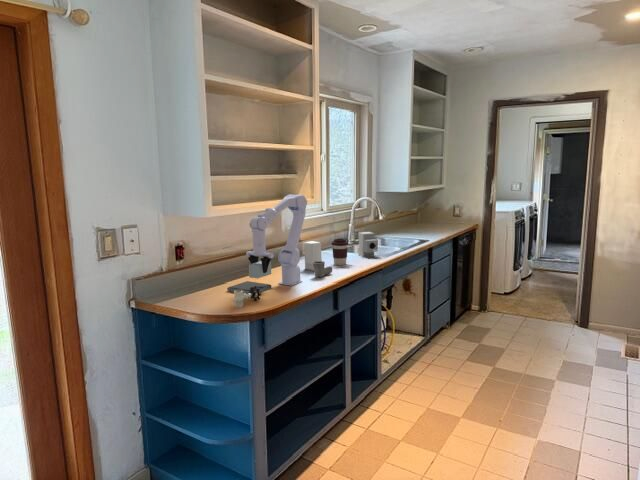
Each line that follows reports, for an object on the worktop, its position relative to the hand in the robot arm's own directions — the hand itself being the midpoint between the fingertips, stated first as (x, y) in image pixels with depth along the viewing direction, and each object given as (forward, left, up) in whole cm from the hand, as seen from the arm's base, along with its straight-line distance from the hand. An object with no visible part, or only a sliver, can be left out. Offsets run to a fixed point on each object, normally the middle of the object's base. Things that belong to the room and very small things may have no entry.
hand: (260, 272), depth 205 cm
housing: (0, 0, -2) cm, 2 cm away
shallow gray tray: (+1, -6, -9) cm, 11 cm away
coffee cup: (-70, +4, -9) cm, 70 cm away
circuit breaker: (-100, +8, -9) cm, 100 cm away
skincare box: (-51, -3, -9) cm, 52 cm away
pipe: (-39, +10, -9) cm, 41 cm away
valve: (+19, +8, -9) cm, 23 cm away
